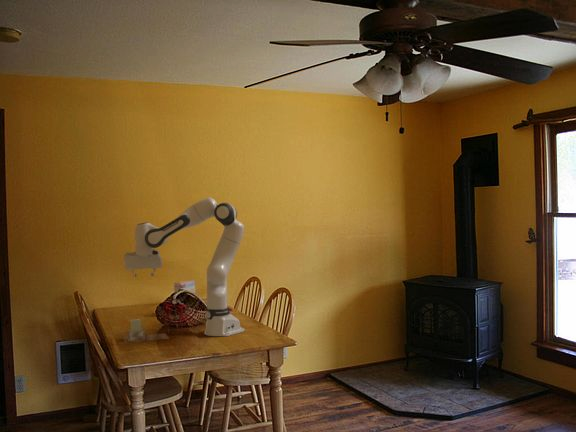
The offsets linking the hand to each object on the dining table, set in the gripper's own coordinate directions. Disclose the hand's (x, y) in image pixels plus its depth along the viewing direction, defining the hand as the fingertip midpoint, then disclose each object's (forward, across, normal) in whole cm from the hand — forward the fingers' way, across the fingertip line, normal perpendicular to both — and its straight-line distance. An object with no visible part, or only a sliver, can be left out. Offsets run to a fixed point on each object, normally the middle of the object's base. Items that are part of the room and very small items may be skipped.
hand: (143, 276), depth 299 cm
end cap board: (+31, -2, -19) cm, 36 cm away
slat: (+30, -7, -19) cm, 36 cm away
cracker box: (+31, +31, +41) cm, 60 cm away
